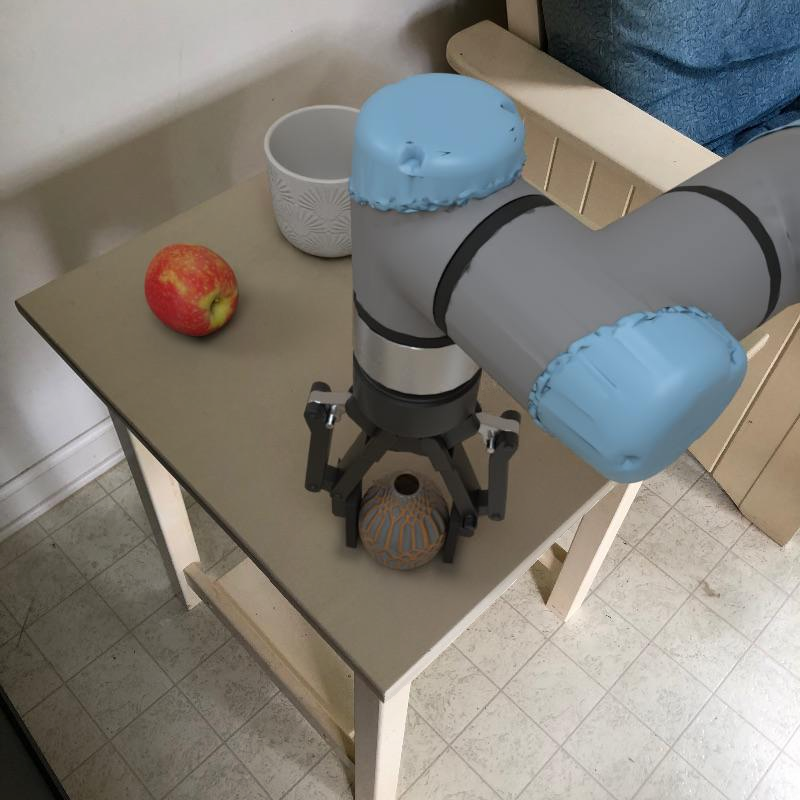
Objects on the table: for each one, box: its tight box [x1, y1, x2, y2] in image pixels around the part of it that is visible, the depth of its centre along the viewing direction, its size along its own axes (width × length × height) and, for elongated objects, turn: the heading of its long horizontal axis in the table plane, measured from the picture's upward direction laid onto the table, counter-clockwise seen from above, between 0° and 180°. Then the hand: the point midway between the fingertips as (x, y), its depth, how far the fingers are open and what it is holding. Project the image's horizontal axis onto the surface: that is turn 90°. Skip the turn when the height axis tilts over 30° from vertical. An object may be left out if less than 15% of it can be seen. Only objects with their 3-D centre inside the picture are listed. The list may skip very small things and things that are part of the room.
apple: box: [143, 242, 239, 337], centre depth 76 cm, size 8×8×8 cm
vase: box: [358, 469, 450, 570], centre depth 62 cm, size 7×7×9 cm
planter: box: [263, 104, 361, 258], centre depth 83 cm, size 12×12×11 cm
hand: (401, 539), depth 65 cm, fingers closed on vase, 7 cm apart
